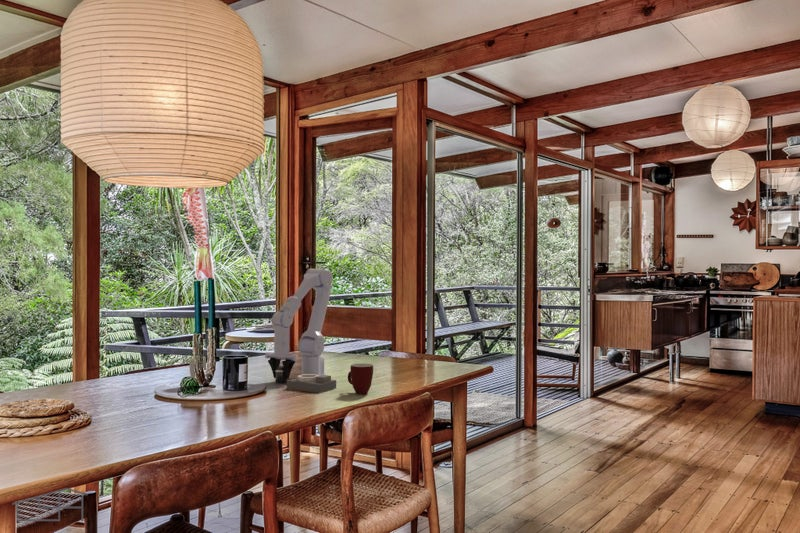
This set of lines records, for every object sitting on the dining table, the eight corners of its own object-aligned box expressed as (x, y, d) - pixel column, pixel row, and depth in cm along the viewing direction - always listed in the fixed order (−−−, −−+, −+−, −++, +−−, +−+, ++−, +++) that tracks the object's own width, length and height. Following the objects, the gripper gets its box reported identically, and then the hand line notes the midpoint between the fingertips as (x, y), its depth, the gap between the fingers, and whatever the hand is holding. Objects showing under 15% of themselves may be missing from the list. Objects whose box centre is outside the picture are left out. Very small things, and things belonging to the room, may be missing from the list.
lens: (280, 380, 245) (280, 365, 245) (289, 382, 243) (290, 366, 243) (272, 382, 241) (272, 366, 241) (282, 383, 239) (282, 367, 239)
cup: (197, 388, 227) (197, 361, 227) (184, 386, 232) (184, 359, 232) (216, 385, 234) (216, 358, 234) (203, 383, 239) (203, 356, 239)
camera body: (303, 384, 238) (303, 371, 238) (336, 388, 232) (336, 374, 232) (286, 388, 230) (286, 375, 230) (320, 393, 223) (320, 378, 223)
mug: (340, 393, 223) (340, 364, 223) (353, 389, 230) (353, 362, 230) (364, 396, 217) (364, 367, 217) (377, 392, 224) (377, 364, 224)
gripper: (260, 342, 242) (259, 377, 242) (290, 345, 235) (290, 381, 235) (271, 340, 248) (271, 375, 248) (301, 343, 241) (301, 378, 241)
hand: (281, 378), depth 242 cm, fingers closed on lens, 4 cm apart
